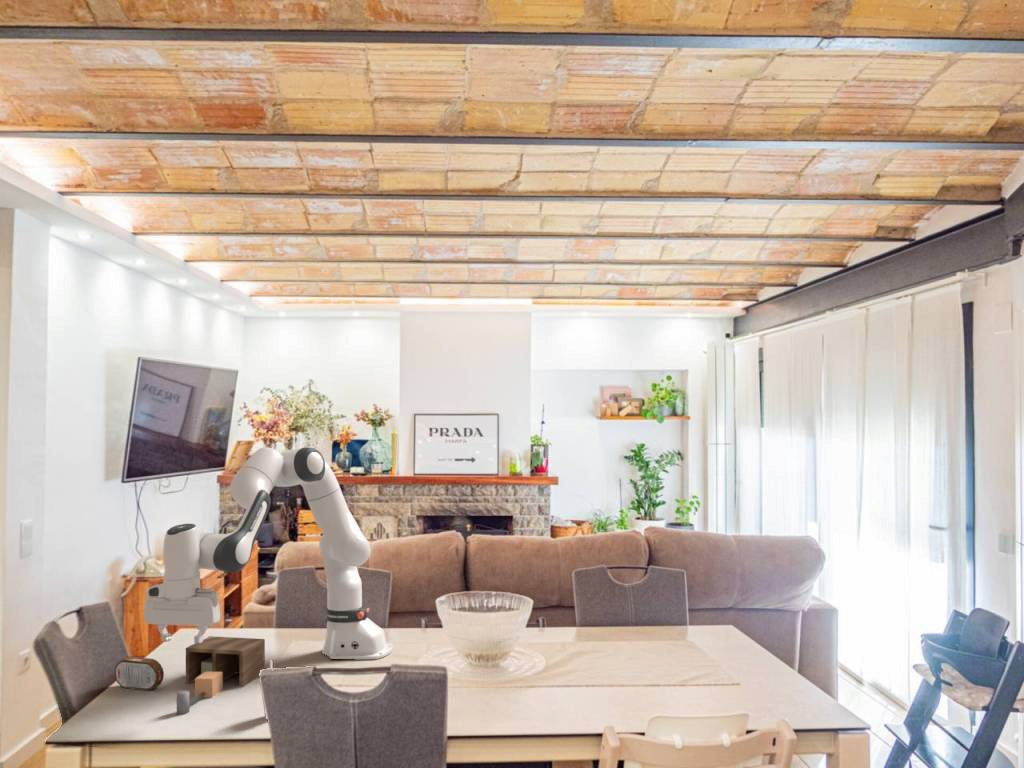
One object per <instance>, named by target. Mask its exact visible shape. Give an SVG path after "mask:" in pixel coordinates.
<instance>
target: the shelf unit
mask: <svg viewBox="0 0 1024 768" xmlns="http://www.w3.org/2000/svg"><path fill="white" fill-rule="evenodd" d="M265 642H266V641H265V638H255V637H254V638H249V637H232V636H231V637H230V636H229V637H227V636H207V637H206V638H203V642H201V643H193V644H192V645H188V646H187V647H185V684H190V683H191V682H195V678H197V677H198V676H200V675H201V662H202V661H204V660H206V659H208V658H210V657H212V672H223V681H225V680H227V679H228V678H230V677H232V676H234V675H235V674H237V673H236V672H240V673H239V687H241V688H243V687H244V686H246V685H247V684H249V683H251V682H252V681H254V680H256V679H258V678H260V676H259V673H260V670H262V669H265V670H266V667H265V666H266V664H265V663H266V659H265V658H266V656H265V655H266V654H265V653H266V646H265V645H266V643H265ZM226 678H227V679H226ZM255 678H256V679H255Z"/></svg>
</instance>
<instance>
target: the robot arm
mask: <svg viewBox="0 0 1024 768" xmlns="http://www.w3.org/2000/svg"><path fill="white" fill-rule="evenodd" d="M231 480H232V481H231V483H230V487H229V489H230V490H229V491H230V493H231V497H232V498H233V500H234V501H235V502H236V503H237V504H238V505H239V506H240V507H241V508H243V509H245V511H244V513H243V514H242V515H243V516H242V518H241V519H240V521H239V524H238V526H237V528H236V529H235V530H233V531H232V532H230V533H216V532H209V531H205V530H203V529H201V528H199V527H198V526H197V525H196V524H194V523H182V524H177V525H174V526H172V527H170V528H169V529H167V531H166V533H165V536H164V540H163V549H162V560H163V566H164V573H163V576H162V577H163V579H162V580H163V582H159V583H158V584H155V585H153V586H150V587H148V588H146V589H145V596H146V599H145V600H144V605H143V606H144V607H143V619H144V622H145V623H146V624H148V625H156V626H157V630H158V632H159V633H160V636H161V641H162V642H170V641H171V640H172V637H171V636H172V634H171V633H169V631H168V629H167V627H168V626H188V627H189V626H190V627H191V626H193V627H197V631H198V633H197V634H196V635H194V636H193V639H194V641H193V642H194V643H193V644H195V643H201V642H203V640H204V634H206V633H205V632H206V631H207V629H208V627H214V626H215V625H217V624H218V623H219V622H220V621H221V611H220V609H221V608H220V603H219V593H218V592H217V591H216V590H214V589H213V588H201V570H210V571H211V570H212V571H219V572H220V571H221V572H226V573H230V574H235V573H238V572H240V571H241V570H243V569H244V568H245V567H246V566H247V564H248V563H249V562H250V559H251V555H252V553H253V548H254V545H255V543H256V541H257V538H258V536H259V534H260V533H261V532H260V531H261V529H262V527H263V524H264V523H265V521H266V518H267V516H268V514H269V510H270V509H271V508H270V507H271V504H272V501H271V500H272V498H271V496H270V494H271V492H272V490H273V489H275V488H276V489H281V488H287V487H296V486H299V485H300V486H301V487H302V489H303V493H304V496H305V499H306V501H307V504H308V506H309V508H310V511H311V513H312V516H313V519H314V522H315V523H316V525H317V526H318V527H319V529H320V531H321V532H322V535H321V537H320V539H319V541H318V542H319V543H318V545H319V550H320V552H321V556H322V563H323V568H324V574H325V579H326V593H327V595H326V601H327V602H326V604H327V605H326V608H325V623H326V632H325V641H324V645H323V648H322V651H321V652H322V655H324V654H325V655H324V656H326V655H327V656H326V657H328V656H329V657H328V659H329V658H331V659H355V660H378V659H382V658H384V657H386V656H388V655H389V654H390V653H392V651H393V650H394V645H393V644H392V643H387V639H386V635H385V631H384V629H383V628H381V626H379V625H377V624H376V623H375V622H374V621H372V620H371V619H370V618H369V617H368V613H369V612H370V608H369V607H368V608H365V606H364V605H363V587H362V585H363V584H362V583H363V582H362V578H361V577H360V573H359V570H358V567H360V566H363V565H364V564H366V562H367V561H368V560H369V558H370V556H371V551H372V548H371V544H370V543H369V541H368V540H367V538H366V537H365V536H364V534H363V532H362V530H361V529H360V527H359V525H358V522H357V521H356V519H355V518H354V516H353V515H352V513H351V511H350V509H349V506H348V504H347V502H346V499H345V496H344V494H343V491H342V489H341V486H340V484H339V481H338V479H337V477H336V476H335V473H334V471H333V470H332V468H331V466H330V465H329V464H328V462H327V461H325V459H324V457H323V455H322V454H321V452H320V451H319V450H318V449H316V448H314V447H302V448H295V449H289V450H286V451H284V452H279V451H278V450H276V449H274V448H272V447H268V446H267V447H260V448H258V449H257V450H256V451H255V452H254V453H252V454H251V455H250V456H249V458H247V460H246V461H245V462H244V463H243V464H242V465H241V466H240V468H239V469H238V471H237V472H236V474H235V475H234V477H233V478H232V479H231ZM331 659H330V660H331Z"/></svg>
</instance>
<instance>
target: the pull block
mask: <svg viewBox="0 0 1024 768" xmlns="http://www.w3.org/2000/svg"><path fill="white" fill-rule="evenodd" d="M223 687H224V680H223V672H211V671H206V672H204V673H203V674H201V675H200V676H198V677H197V678H195V680H194V698H193V699H191V700H190V691H189V690H182V691H179V692H177V693H176V714H177V715H179V714H182V715H186V713H187V714H188V712H189V713H190V706H191V705H193V704H194V703H196V702H197V701H198V700H200V699H201V698H214V697H215V696H217V695H218V694H219V693H221V690H222V689H223V690H224V688H223ZM223 690H222V691H223ZM217 693H218V694H217ZM213 696H214V697H213Z"/></svg>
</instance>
